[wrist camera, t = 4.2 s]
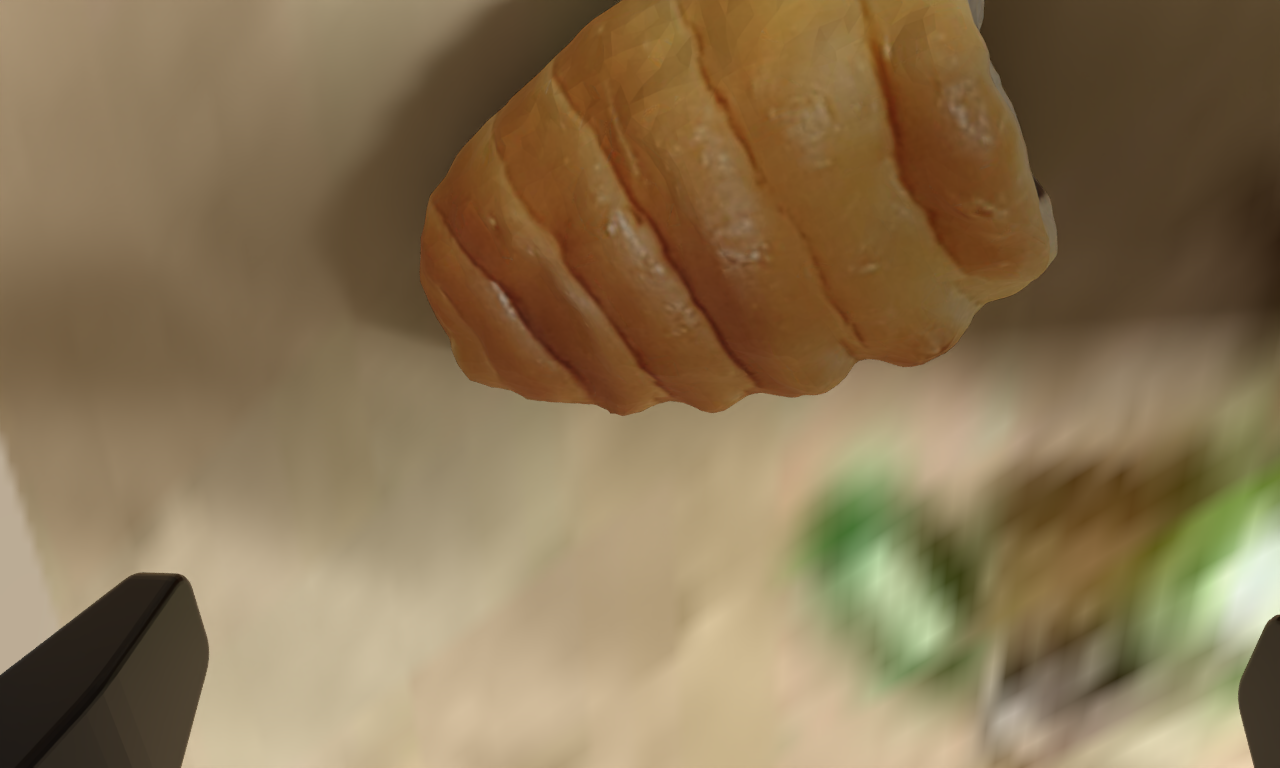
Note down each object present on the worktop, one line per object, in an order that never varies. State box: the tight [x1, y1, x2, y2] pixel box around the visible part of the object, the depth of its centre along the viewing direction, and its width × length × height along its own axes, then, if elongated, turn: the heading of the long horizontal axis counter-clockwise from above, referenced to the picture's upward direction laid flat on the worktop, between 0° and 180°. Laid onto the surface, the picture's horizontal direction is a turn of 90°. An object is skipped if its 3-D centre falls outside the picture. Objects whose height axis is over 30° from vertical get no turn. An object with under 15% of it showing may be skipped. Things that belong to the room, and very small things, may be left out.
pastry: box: [420, 0, 1058, 416], centre depth 17 cm, size 9×7×4 cm
